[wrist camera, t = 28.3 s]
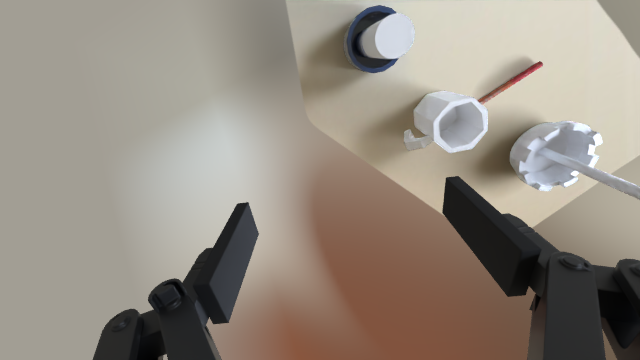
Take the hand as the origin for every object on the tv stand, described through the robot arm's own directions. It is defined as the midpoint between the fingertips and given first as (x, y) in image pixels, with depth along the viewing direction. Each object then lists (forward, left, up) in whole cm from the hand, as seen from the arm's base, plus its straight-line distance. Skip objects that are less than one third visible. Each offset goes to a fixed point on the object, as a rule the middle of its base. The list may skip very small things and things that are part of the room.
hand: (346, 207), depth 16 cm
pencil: (+27, +8, -33) cm, 43 cm away
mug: (+18, +2, -33) cm, 38 cm away
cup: (+4, +12, -33) cm, 35 cm away
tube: (+4, +12, -32) cm, 35 cm away
